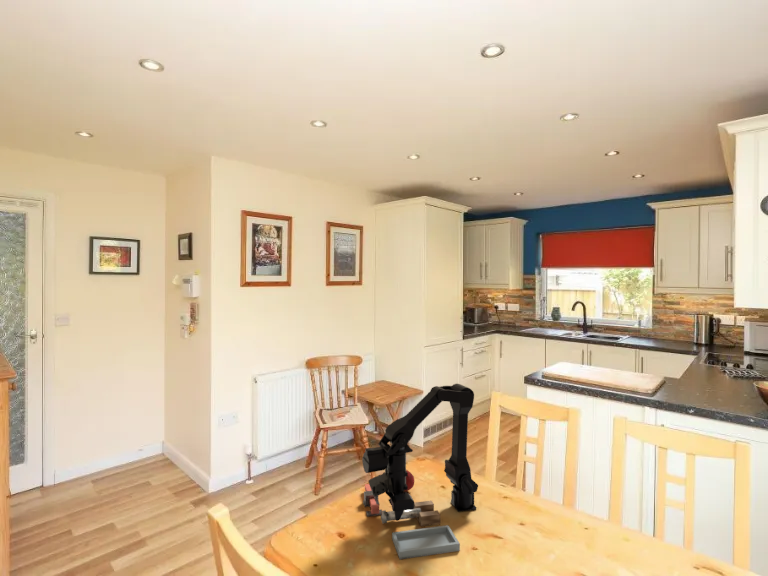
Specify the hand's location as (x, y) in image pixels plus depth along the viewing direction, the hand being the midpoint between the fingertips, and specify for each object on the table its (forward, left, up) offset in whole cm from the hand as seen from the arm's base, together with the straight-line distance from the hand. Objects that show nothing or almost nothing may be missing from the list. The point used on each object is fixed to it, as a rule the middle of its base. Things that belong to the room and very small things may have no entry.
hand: (396, 517), depth 124 cm
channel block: (-10, 0, -1) cm, 10 cm away
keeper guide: (+6, -9, -1) cm, 11 cm away
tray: (-5, +12, -1) cm, 14 cm away
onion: (-8, -17, -2) cm, 19 cm away
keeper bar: (+6, -12, -1) cm, 13 cm away
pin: (-2, 0, -1) cm, 2 cm away
